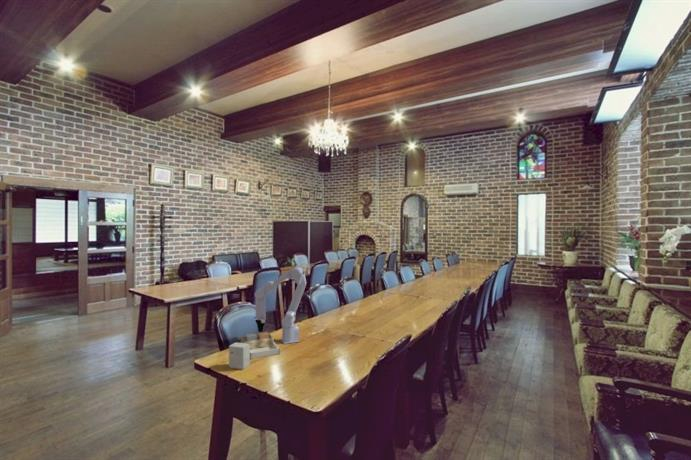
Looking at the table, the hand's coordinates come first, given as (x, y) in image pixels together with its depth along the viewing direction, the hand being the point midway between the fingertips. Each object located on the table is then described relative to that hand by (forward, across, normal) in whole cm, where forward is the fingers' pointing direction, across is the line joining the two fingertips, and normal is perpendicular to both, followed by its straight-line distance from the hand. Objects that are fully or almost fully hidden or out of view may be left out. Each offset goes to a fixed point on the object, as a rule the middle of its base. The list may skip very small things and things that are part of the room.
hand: (260, 332), depth 197 cm
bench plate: (+5, +8, -4) cm, 10 cm away
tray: (+5, +20, -4) cm, 21 cm away
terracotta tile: (+1, +8, 0) cm, 8 cm away
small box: (+5, +33, -18) cm, 37 cm away
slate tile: (+1, +8, -7) cm, 10 cm away
